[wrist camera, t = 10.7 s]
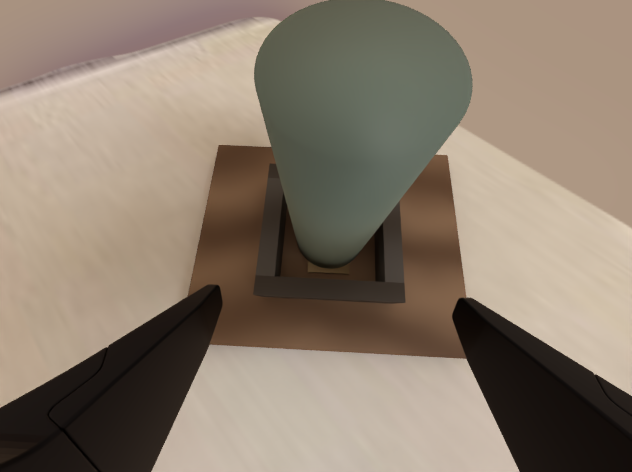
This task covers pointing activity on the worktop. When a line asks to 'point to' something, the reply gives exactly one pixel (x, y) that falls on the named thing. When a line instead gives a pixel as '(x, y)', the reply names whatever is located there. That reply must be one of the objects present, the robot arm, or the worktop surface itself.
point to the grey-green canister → (355, 115)
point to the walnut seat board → (329, 284)
